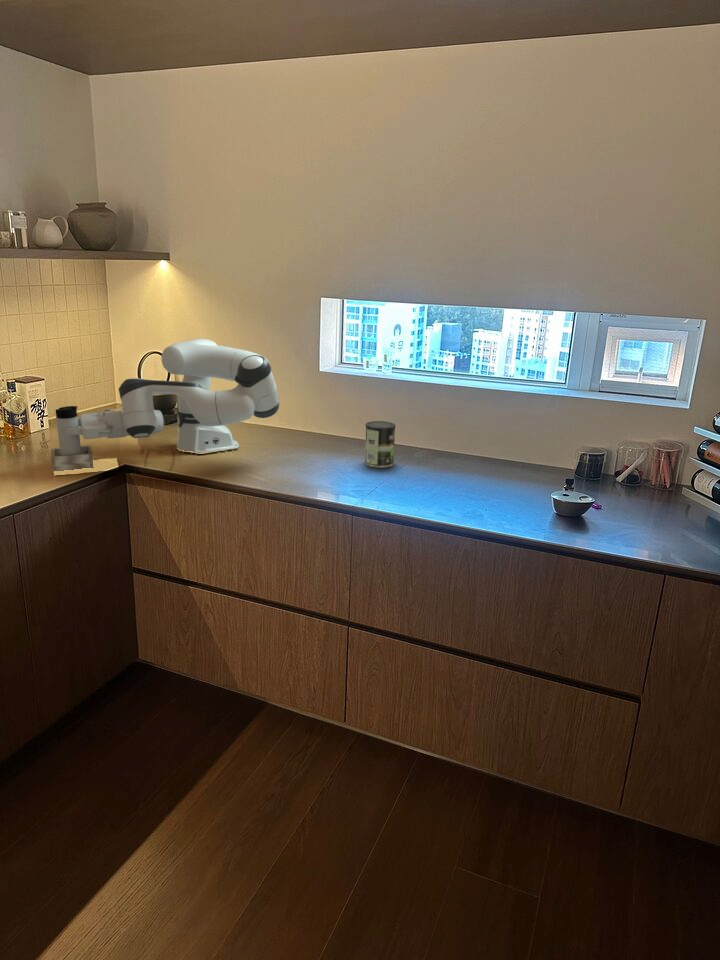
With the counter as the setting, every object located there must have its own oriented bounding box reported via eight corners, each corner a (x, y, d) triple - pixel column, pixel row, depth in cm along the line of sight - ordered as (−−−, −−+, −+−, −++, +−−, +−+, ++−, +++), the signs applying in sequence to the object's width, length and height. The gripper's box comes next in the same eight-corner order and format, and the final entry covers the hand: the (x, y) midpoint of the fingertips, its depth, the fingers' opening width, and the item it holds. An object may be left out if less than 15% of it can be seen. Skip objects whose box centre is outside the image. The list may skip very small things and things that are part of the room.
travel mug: (78, 470, 216) (71, 408, 209) (58, 469, 216) (51, 407, 210) (87, 464, 221) (80, 404, 215) (67, 463, 222) (60, 403, 215)
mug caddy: (117, 460, 230) (115, 443, 228) (120, 470, 220) (118, 452, 218) (53, 465, 222) (51, 448, 220) (53, 476, 212) (51, 458, 210)
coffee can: (395, 460, 239) (397, 421, 235) (391, 469, 229) (392, 429, 225) (367, 458, 241) (368, 419, 236) (361, 466, 231) (362, 426, 227)
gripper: (115, 441, 212) (67, 445, 207) (109, 426, 230) (65, 429, 224) (113, 422, 210) (65, 425, 205) (108, 408, 228) (63, 411, 222)
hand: (65, 427), depth 215 cm, fingers open, 8 cm apart
